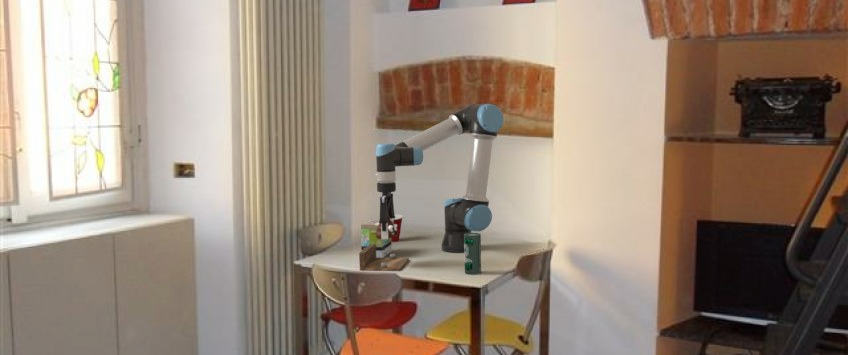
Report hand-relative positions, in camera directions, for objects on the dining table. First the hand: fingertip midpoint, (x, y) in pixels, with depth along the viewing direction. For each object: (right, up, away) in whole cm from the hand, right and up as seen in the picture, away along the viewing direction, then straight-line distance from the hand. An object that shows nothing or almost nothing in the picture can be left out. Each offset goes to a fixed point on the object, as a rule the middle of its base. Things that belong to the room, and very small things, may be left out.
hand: (387, 236), depth 302 cm
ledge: (-1, -12, +1) cm, 12 cm away
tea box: (-6, -10, +22) cm, 25 cm away
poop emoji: (0, 0, 0) cm, 1 cm away
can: (+34, -13, -15) cm, 39 cm away
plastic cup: (0, -7, +55) cm, 55 cm away
